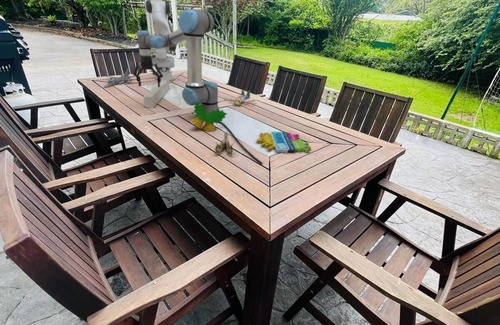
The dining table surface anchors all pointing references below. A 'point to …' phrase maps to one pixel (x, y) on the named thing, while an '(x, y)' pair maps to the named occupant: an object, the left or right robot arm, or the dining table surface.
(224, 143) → the jawbone
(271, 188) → the dining table surface
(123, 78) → the airplane
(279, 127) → the dining table surface
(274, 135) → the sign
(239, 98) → the toy
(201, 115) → the ornament
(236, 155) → the dining table surface
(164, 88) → the beam
